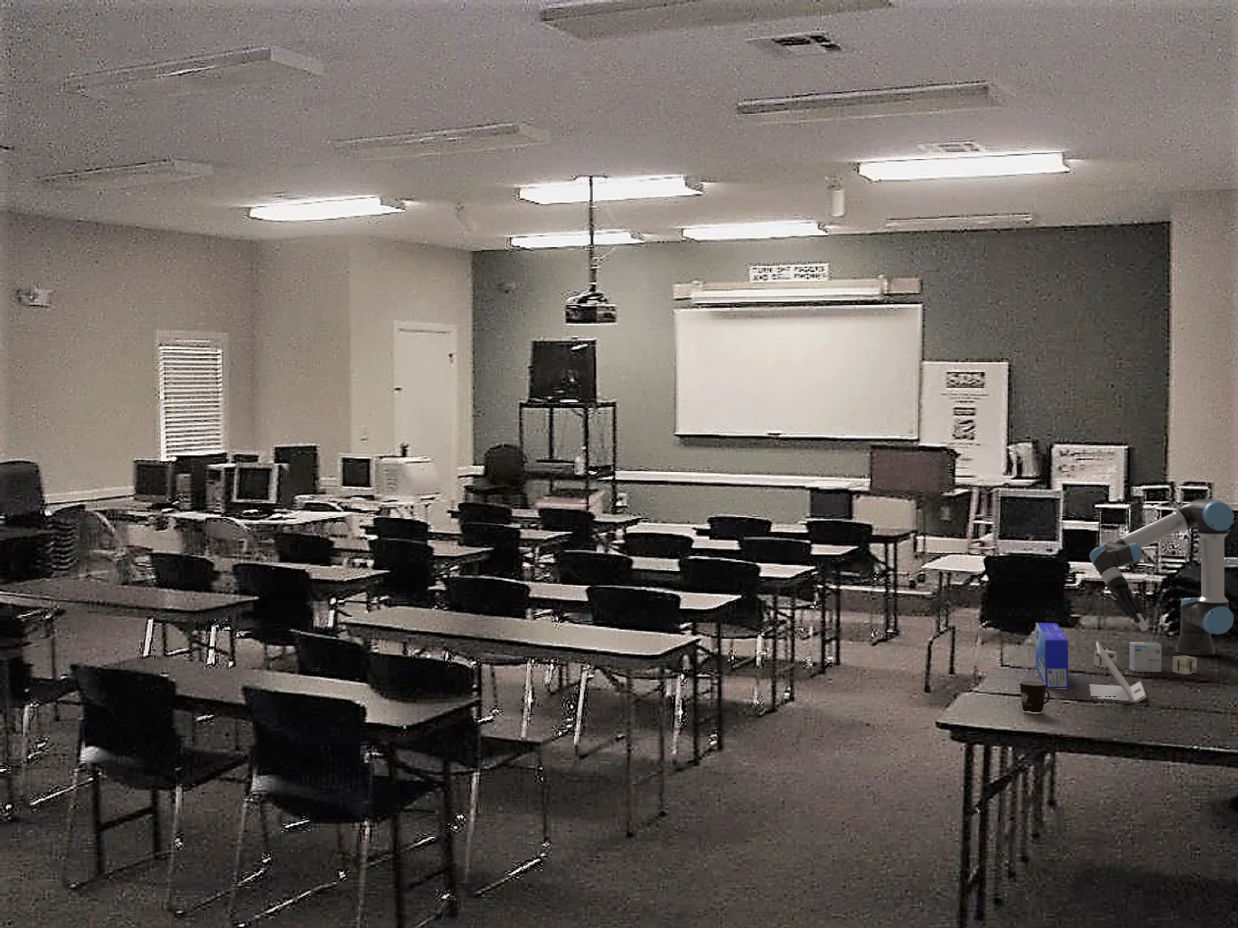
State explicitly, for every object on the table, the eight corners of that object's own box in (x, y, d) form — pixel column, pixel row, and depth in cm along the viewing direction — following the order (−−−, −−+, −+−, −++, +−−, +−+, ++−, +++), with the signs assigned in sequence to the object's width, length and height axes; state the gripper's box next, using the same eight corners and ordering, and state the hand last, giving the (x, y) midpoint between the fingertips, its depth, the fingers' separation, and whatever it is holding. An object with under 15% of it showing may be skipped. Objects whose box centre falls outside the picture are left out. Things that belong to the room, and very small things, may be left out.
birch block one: (1184, 670, 524) (1184, 655, 524) (1196, 673, 518) (1197, 658, 518) (1172, 671, 522) (1172, 656, 521) (1184, 674, 516) (1184, 659, 516)
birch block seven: (1105, 664, 536) (1105, 649, 535) (1116, 667, 530) (1116, 652, 530) (1093, 665, 533) (1093, 650, 533) (1104, 668, 528) (1104, 653, 527)
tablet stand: (1091, 700, 471) (1092, 651, 470) (1088, 686, 495) (1089, 640, 494) (1146, 703, 466) (1147, 654, 465) (1141, 689, 489) (1142, 642, 489)
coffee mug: (1016, 709, 455) (1016, 679, 455) (1041, 709, 455) (1042, 680, 454) (1025, 717, 443) (1026, 687, 443) (1051, 717, 443) (1052, 687, 443)
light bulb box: (1156, 668, 527) (1157, 641, 526) (1161, 672, 520) (1162, 644, 520) (1128, 668, 528) (1129, 641, 527) (1133, 671, 521) (1133, 644, 521)
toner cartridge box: (1034, 669, 527) (1035, 622, 526) (1057, 669, 525) (1058, 622, 524) (1044, 689, 489) (1045, 638, 488) (1068, 690, 487) (1069, 639, 486)
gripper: (1122, 586, 543) (1152, 633, 529) (1097, 587, 538) (1127, 635, 524) (1132, 574, 538) (1163, 622, 524) (1107, 575, 533) (1137, 624, 519)
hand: (1145, 628), depth 524 cm, fingers closed
